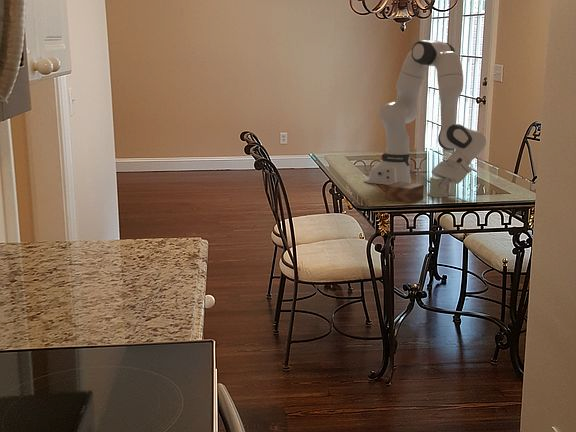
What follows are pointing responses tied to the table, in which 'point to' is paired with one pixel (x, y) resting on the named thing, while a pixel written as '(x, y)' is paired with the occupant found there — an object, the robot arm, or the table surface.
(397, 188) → the walnut riser
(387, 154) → the robot arm
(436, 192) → the sage block
